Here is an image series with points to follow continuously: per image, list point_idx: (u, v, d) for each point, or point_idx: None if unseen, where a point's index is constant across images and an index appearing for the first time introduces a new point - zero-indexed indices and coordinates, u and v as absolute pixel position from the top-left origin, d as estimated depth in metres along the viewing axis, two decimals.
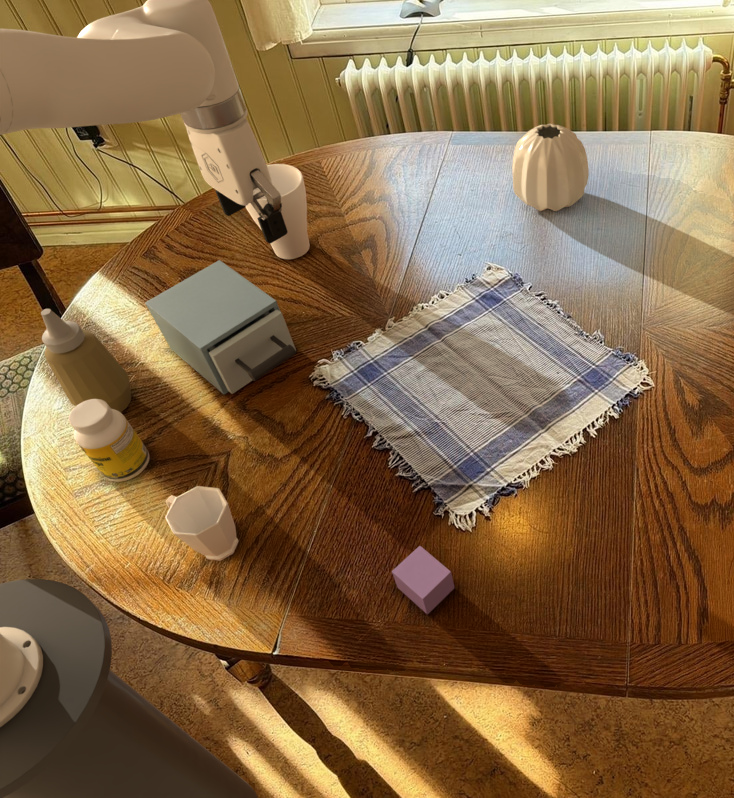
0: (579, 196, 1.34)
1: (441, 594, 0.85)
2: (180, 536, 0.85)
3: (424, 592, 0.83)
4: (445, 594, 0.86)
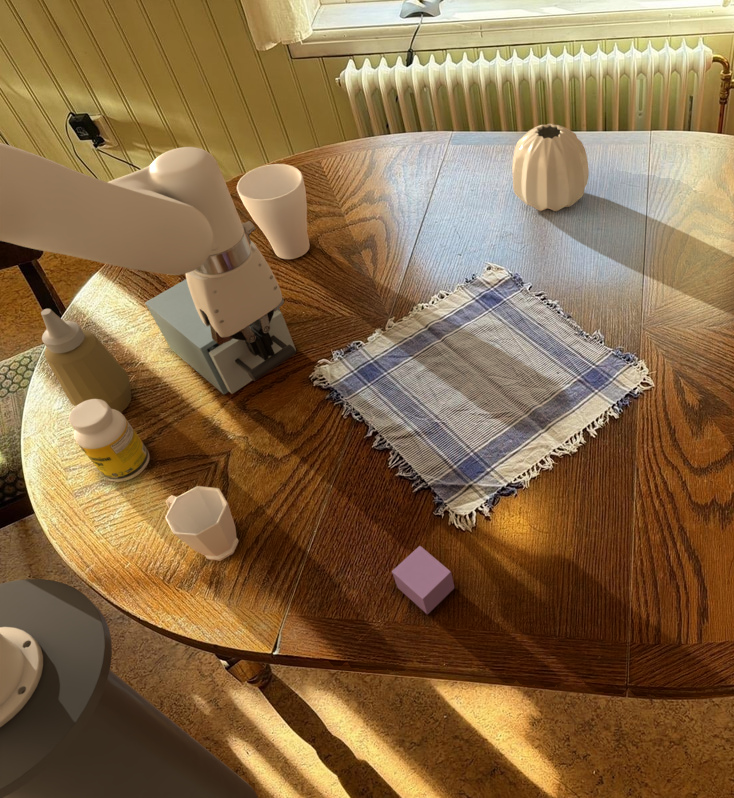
0: (579, 196, 1.34)
1: (441, 594, 0.85)
2: (180, 536, 0.85)
3: (424, 592, 0.83)
4: (445, 594, 0.86)
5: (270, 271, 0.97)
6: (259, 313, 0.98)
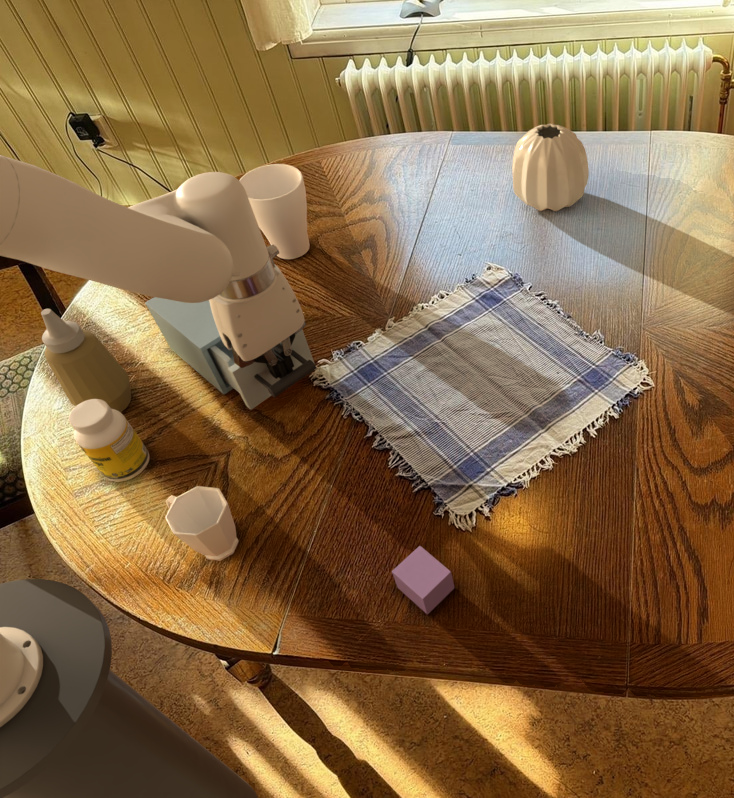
0: (579, 196, 1.34)
1: (441, 594, 0.85)
2: (180, 536, 0.85)
3: (424, 592, 0.83)
4: (445, 594, 0.86)
5: (293, 294, 0.96)
6: (281, 336, 0.97)
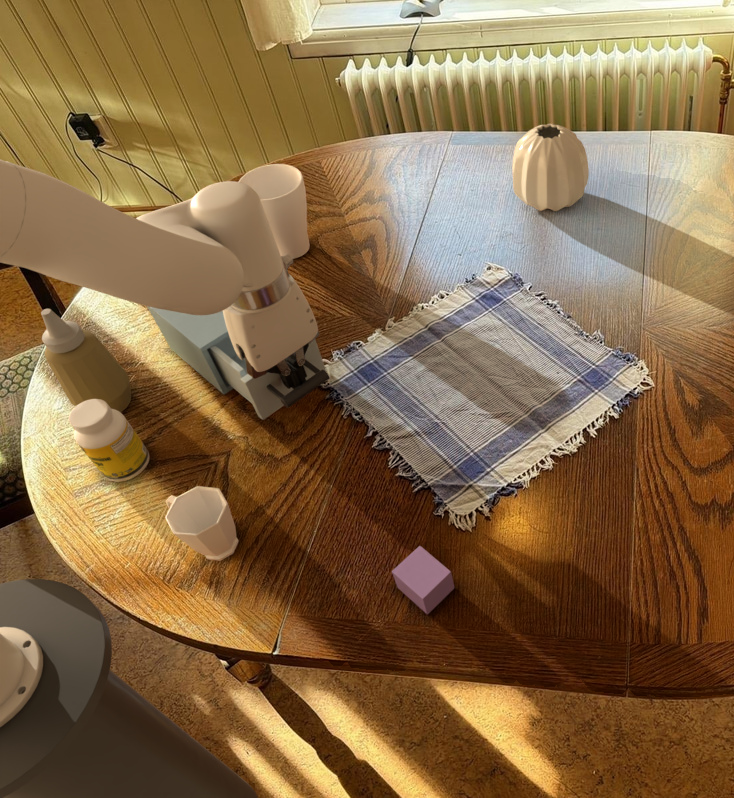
0: (579, 196, 1.34)
1: (441, 594, 0.85)
2: (180, 536, 0.85)
3: (424, 592, 0.83)
4: (445, 594, 0.86)
5: (307, 304, 0.94)
6: (295, 346, 0.96)
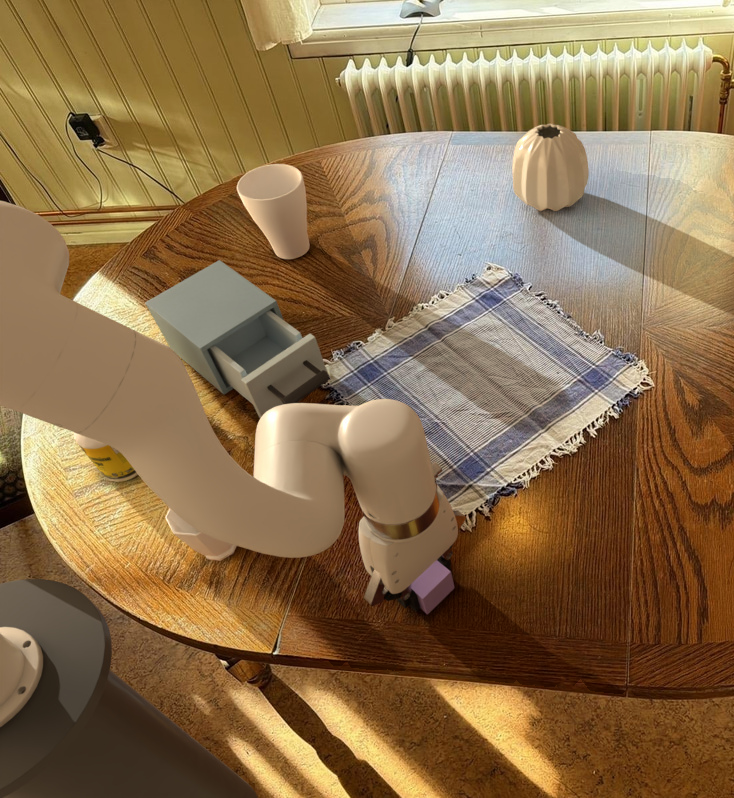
0: (579, 196, 1.34)
1: (441, 594, 0.85)
2: (180, 536, 0.85)
3: (424, 592, 0.83)
4: (445, 594, 0.86)
5: (452, 513, 0.79)
6: (434, 558, 0.81)
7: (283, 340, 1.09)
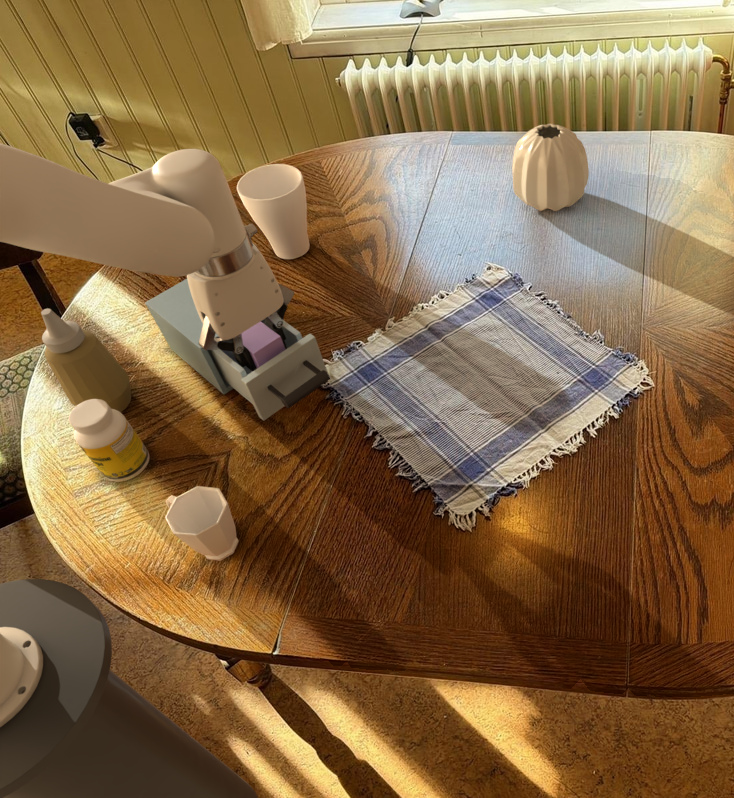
0: (579, 196, 1.34)
1: None
2: (180, 536, 0.85)
3: (256, 349, 1.00)
4: None
5: (272, 274, 0.96)
6: (260, 316, 0.98)
7: None
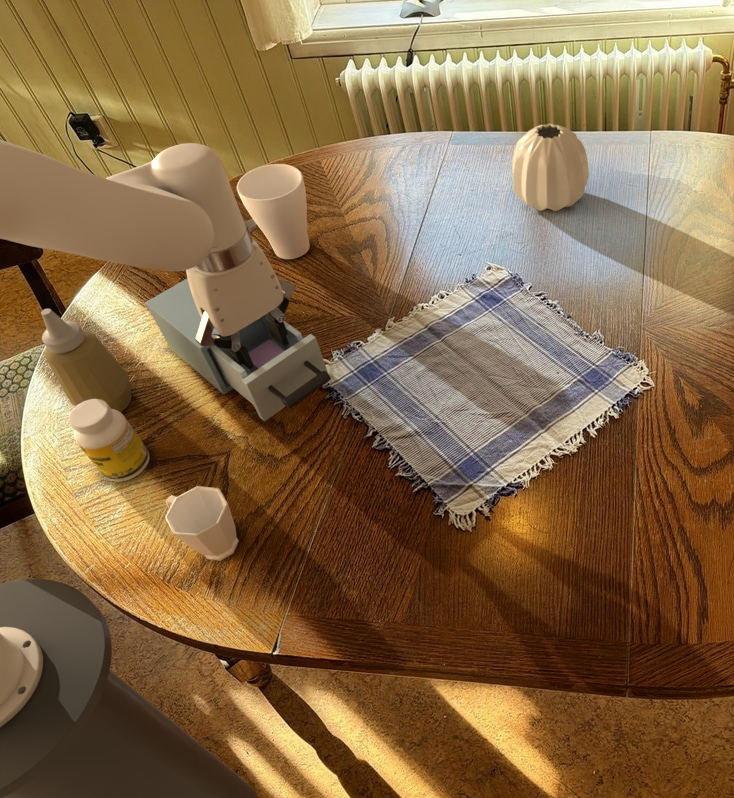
0: (579, 196, 1.34)
1: None
2: (180, 536, 0.85)
3: None
4: None
5: (272, 270, 0.96)
6: (260, 312, 0.97)
7: None
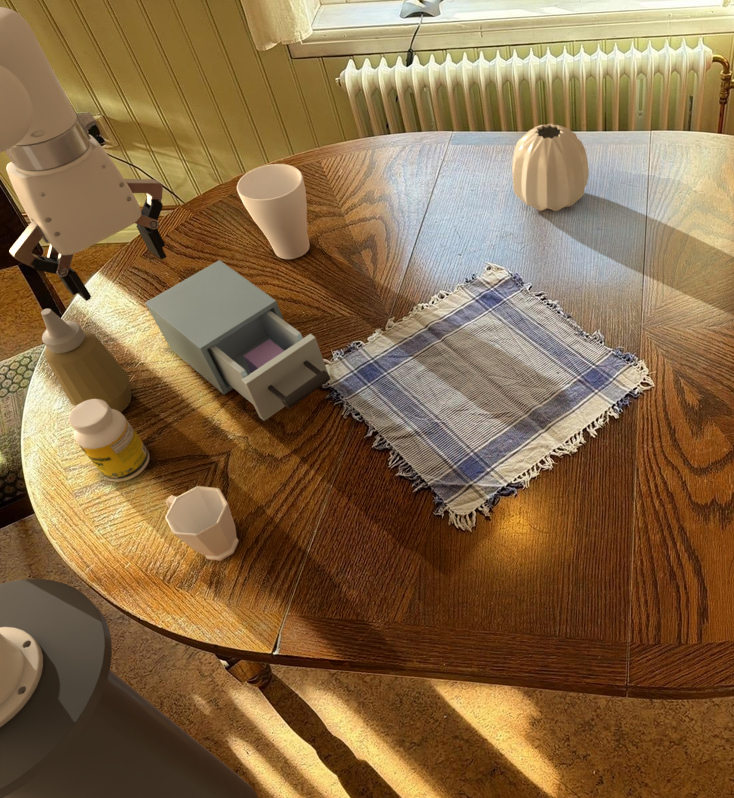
0: (579, 196, 1.34)
1: None
2: (180, 536, 0.85)
3: None
4: None
5: (120, 177, 0.81)
6: (110, 228, 0.83)
7: (283, 341, 1.09)
